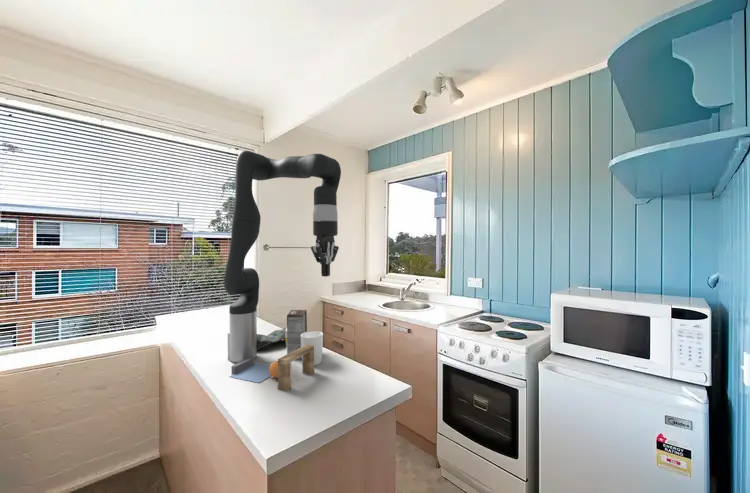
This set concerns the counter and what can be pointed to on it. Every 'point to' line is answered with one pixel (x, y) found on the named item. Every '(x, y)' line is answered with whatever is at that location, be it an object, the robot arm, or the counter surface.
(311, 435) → the counter surface
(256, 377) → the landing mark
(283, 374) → the bridge
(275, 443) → the counter surface
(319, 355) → the white cup
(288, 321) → the coffee box
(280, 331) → the grey green crumpled pouch
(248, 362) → the strip
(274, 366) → the ball
